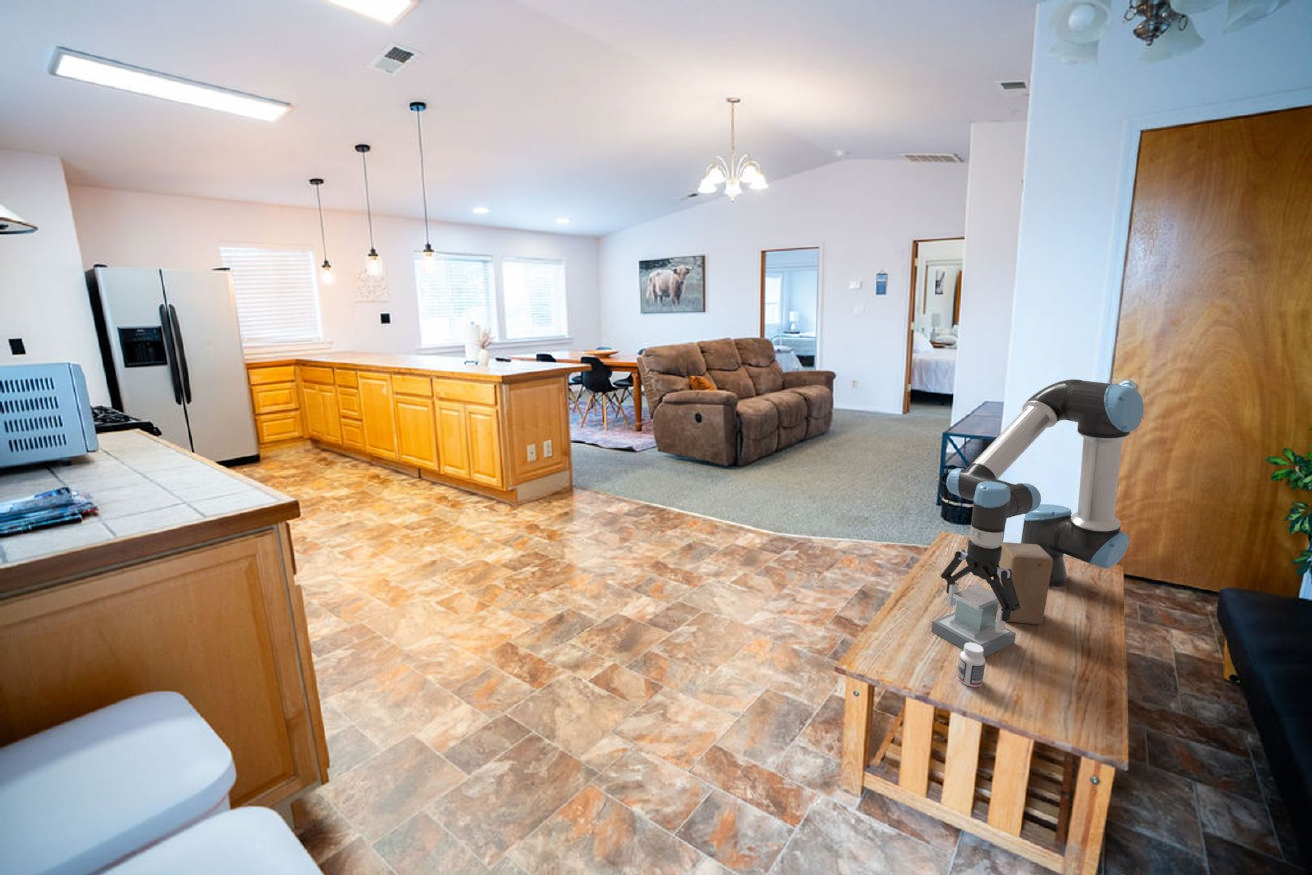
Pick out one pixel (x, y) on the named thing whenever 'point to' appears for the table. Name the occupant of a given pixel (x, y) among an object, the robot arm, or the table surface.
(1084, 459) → the robot arm
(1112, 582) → the table surface
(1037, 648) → the table surface
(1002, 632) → the stand
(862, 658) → the table surface
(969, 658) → the pill bottle
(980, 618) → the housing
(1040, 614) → the wooden block
